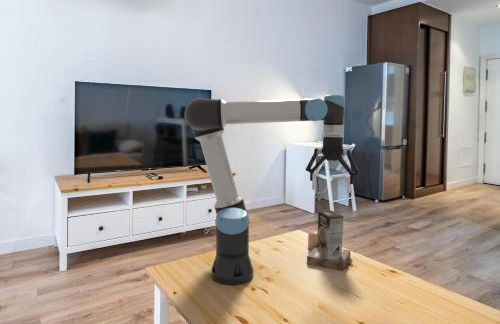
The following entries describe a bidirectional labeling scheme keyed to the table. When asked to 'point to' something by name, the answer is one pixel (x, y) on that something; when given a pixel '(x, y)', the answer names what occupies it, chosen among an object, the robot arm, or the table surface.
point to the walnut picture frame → (328, 259)
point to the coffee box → (330, 233)
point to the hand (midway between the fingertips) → (331, 191)
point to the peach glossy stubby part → (312, 239)
